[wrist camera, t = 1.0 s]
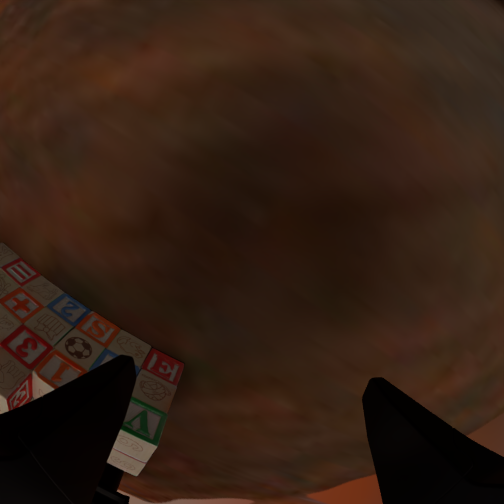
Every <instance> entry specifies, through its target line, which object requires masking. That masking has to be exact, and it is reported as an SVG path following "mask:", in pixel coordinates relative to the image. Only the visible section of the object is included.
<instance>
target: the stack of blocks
mask: <svg viewBox="0 0 504 504" xmlns="http://www.w3.org/2000/svg"><path fill="white" fill-rule="evenodd" d="M121 354H123V355H128V356H132V357H133V358H134V362H135V369H136V383H135V387H134V390H133V393H132V397H131V400H130V403H129V407H128V410H127V414H126V417H125V420H124V422H123V425H122V427H121V429H120V432H119V434H118V436H117V439H116V441H115V444H114V446H113V448H112V451H111V453H110V456H109V458H108V461H107V463H109V464H111V465H113V466H115V467H117V468H119V469H121V470H123V471H126V472H128V473H130V474H132V475H134V476H138V474H139V473H140V472H141V470H142V469H143V468H144V466H145V465H146V462H147V461H148V460H149V458H150V457H151V455H152V454H153V452H154V451H155V450H156V448H157V446H158V444H159V441H160V438H161V435H162V432H163V428H164V425H165V422H166V419H167V416H168V415H167V413H168V411H169V409H170V406H171V403H172V400H173V398H174V395H175V392H176V390H177V384H178V382H179V379H180V377H181V374H182V372H183V368H184V363H182V362H180V361H178V360H176V359H174V358H171V357H169V356H167V355H165V354H164V353H162V352H160V351H158V350H156V349H154V348H152V347H151V346H150V345H149V344H147V343H145V342H143V341H142V340H140V339H138V338H136V337H135V336H133V335H131V334H129V333H128V332H126V331H124V330H121V329H120V328H119V327H118V326H116V325H114V324H113V323H111V322H110V321H108V320H106V319H105V318H103V317H102V316H100V315H99V314H97V313H96V312H94V311H91V310H90V309H88V308H87V307H85V306H84V305H82V304H81V303H79V302H78V301H76V300H75V299H74V298H72V297H71V296H69V295H68V294H66V293H64V292H63V291H62V290H61V289H59V288H58V287H56V286H55V285H54V284H52V283H51V282H49V281H48V280H47V279H46V278H44V277H43V276H41V274H40V273H39V272H37V271H36V270H35V269H34V268H32V267H31V266H30V265H29V264H27V263H26V262H25V261H24V260H22V259H21V258H20V257H19V256H18V255H17V254H16V253H14V252H13V251H12V250H11V249H10V248H9V247H7V246H6V245H5V244H4V243H0V414H2V413H4V412H7V411H10V410H12V409H15V408H17V407H20V406H22V405H24V404H26V403H28V402H31V401H33V400H35V399H37V398H39V397H41V396H42V397H43V395H45V394H47V393H49V392H51V391H53V390H54V389H56V388H58V387H60V386H62V385H64V384H66V383H68V382H70V381H72V380H74V379H76V378H78V377H79V376H81V375H83V374H85V373H87V372H89V371H91V370H93V369H95V368H96V367H98V366H100V365H102V364H104V363H106V362H108V361H109V360H111V359H113V358H115V357H117V356H119V355H121Z"/></svg>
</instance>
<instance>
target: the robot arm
mask: <svg viewBox="0 0 504 504" xmlns="http://www.w3.org/2000/svg"><path fill="white" fill-rule="evenodd" d="M135 383H136V369H135V362H134V358H133V357H132V356H128V355H123V354H121V355H119V356H117V357H115V358H113V359H111V360H109V361H108V362H106V363H104V364H102V365H100V366H98V367H96V368H95V369H93V370H91V371H89V372H87V373H85V374H83V375H81V376H79V377H78V378H76V379H74V380H72V381H70V382H68V383H66V384H64V385H62V386H60V387H58V388H56V389H54V390H53V391H51V392H49V393H47V394H45V395H43V397H42V396H41V397H39V398H37V399H35V400H33V401H31V402H28V403H26V404H24V405H22V406H20V407H17V408H15V409H12V410H10V411H7V412H4V413H2V414H0V504H129V498H130V497H129V496H126V495H123V494H121V493H119V492H117V490H118V487H119V484H120V481H121V479H122V476H123V473H124V471H123V470H121V469H119V468H117V467H115V466H113V465H111V464H109V463H107V461H108V458H109V456H110V453H111V451H112V448H113V446H114V444H115V441H116V439H117V436H118V434H119V432H120V429H121V427H122V425H123V422H124V420H125V417H126V414H127V410H128V407H129V403H130V400H131V397H132V393H133V390H134V387H135ZM362 403H363V410H364V417H365V424H366V431H367V438H368V442H369V446H370V450H371V454H372V458H373V462H374V466H375V470H376V475H377V479H378V483H379V488H380V492H381V497H382V502H383V504H504V457H502V456H501V455H499V454H497V453H495V452H493V451H491V450H489V449H487V448H485V447H484V446H482V445H480V444H478V443H477V442H475V441H473V440H471V439H470V438H468V437H467V436H465V435H464V434H462V433H461V432H459V431H458V430H456V429H455V428H452V426H450V425H449V424H447V423H446V422H445V421H443V420H442V419H440V418H439V417H437V416H436V415H435V414H433V413H432V412H430V411H429V410H427V409H426V408H425V407H423V406H422V405H420V404H419V403H418V402H416V401H415V400H413V399H412V398H410V397H409V396H408V395H406V394H405V393H403V392H402V391H401V390H399V389H398V388H397V387H395V386H394V385H392V384H391V383H390V382H388V381H387V380H385V379H384V378H382V377H376V378H371V379H370V380H369V382H368V385H367V387H366V389H365V392H364V394H363V397H362Z"/></svg>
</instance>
